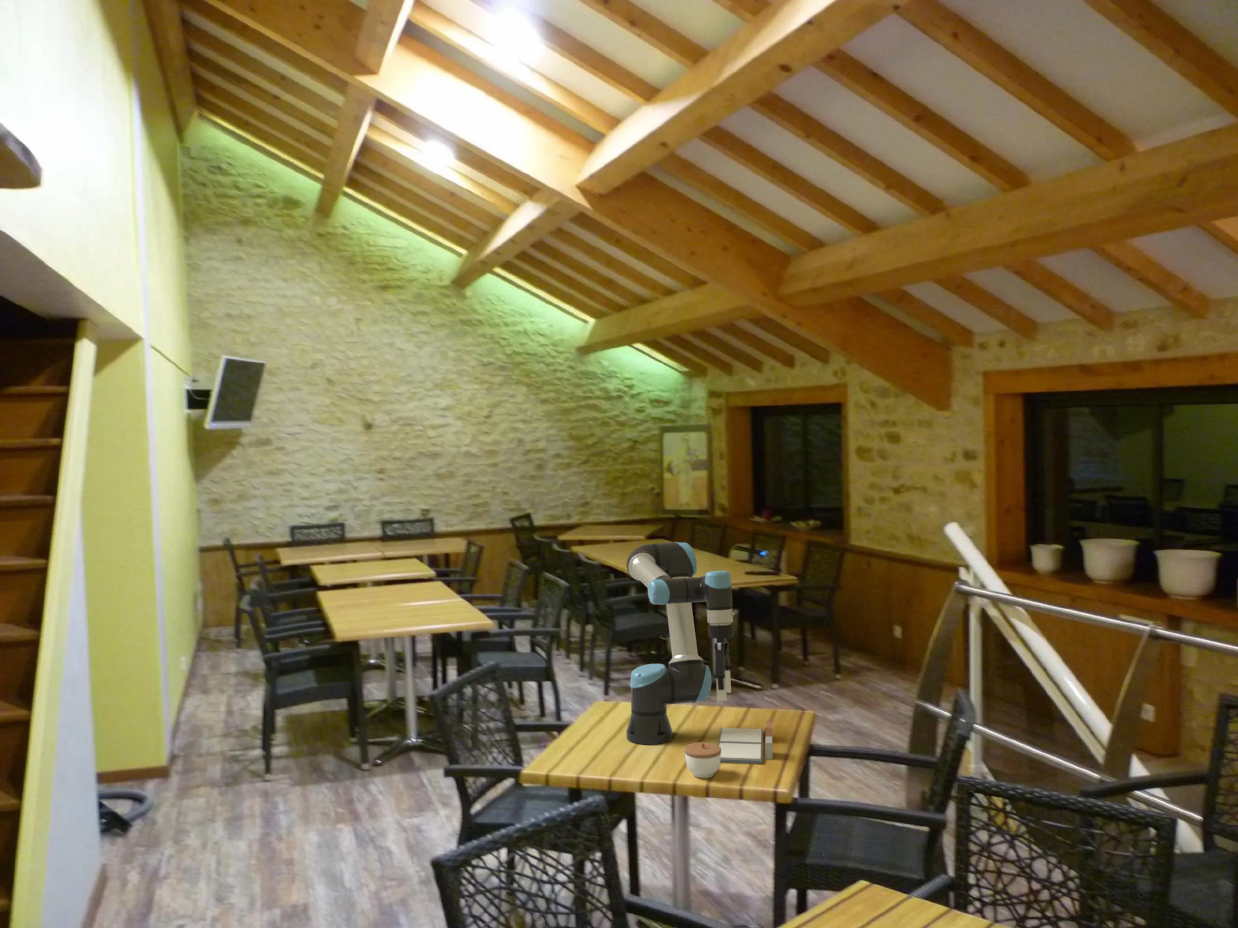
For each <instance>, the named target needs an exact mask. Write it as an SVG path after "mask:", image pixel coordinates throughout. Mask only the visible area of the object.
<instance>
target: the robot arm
mask: <svg viewBox="0 0 1238 928" xmlns="http://www.w3.org/2000/svg"><path fill="white" fill-rule="evenodd" d="M697 563H698V562H697V558H696V554H695V551H694V549H693V547H692V545H690V544H689V543H687V542H678V541H674V542H660V543H646V544H642V545H639V546H637V547H636V548H635V549H633V550H632V551H631V552H630V553H629V555H628V557H627V559H626V571H627V573H628V574H629V575H630V577H631V578H633V579H634V580H636V581H639V582H641V583H642V584H643V585H644V586H645V587H646V588H647V594H648V595H647V597H648V599H649V602H650V604H652V605H661V606H664V605H666V612H667V621H668V622H667V623H668V631H669V639H670V640H669V641H670V647H671V648H670V649H671V655H672V657H671V658H670V661H669V662H668V668H667V667H666V666H665V664H662V663H648V664H644V665H640V666H638V667H636V668H635V669H633V670H632V672H631V674H630V684H629V686H630V708H631V709H630V711H631V714H630V717H629V721H628V724H627V728H626V739H627V740H628V741H629V742H631V743H634V744H638V743H639V744H638V745H659V744H658V743H660V744H664V743H667V742H670V741H671V740H672V739H673V729H672V726H671V722H670V719H669V717H668V714H667V706H668V705H679V704H688V703H692V704H694V703H699V702H705V701H706V700H707V699H708V698H709V696H710V694H711V689H712V672H711V669H710V667H709V665H707V664H704V659H703V658H702V657H701V656H699V654H698V653H699V652H698V646H697V637H696V631H695V623H694V615H693V606H692V603H704V602H705V603H706V616H707V617H706V619H707V623H708V625H707V633H708V637H709V639H716V642H715V643H714V645H713V646H714V658H715V659H714V661H715V663H714V664H715V667H714V668H715V669H714V674H713V679H715V684H716V686H715V687H716V701H717V702H727V701H728V697H727V693H729V694H730V693H732V684H731V682H732V681H731V670H733V666H732V665H731V659H730V643H729V638H731V639H732V638H733V637H734V636H735V631H734V629H735V628H734V624H733V622H734V616H735V614H736V613H735V611H733V593H732V592H733V591H732V589H733V588H732V585H733V582H732V579H731V578H732V577H731V573H730V572H729V571H727V570H713V571H711V570H710V571H707V572H706V573H705V575H701V576H696V577H695V575H696V574H697V571H698V567H697V566H698V564H697ZM670 739H671V740H670ZM663 742H664V743H663Z"/></svg>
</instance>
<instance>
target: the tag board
mask: <svg viewBox="0 0 1238 928" xmlns="http://www.w3.org/2000/svg"><path fill="white" fill-rule="evenodd" d="M719 731H720V732H719V738H718V743H717V745H718V746H720V748H721V761H720V764H721V763H722V764H745V765H747V764H748V765H749V764H750V765H763V756H764V755H763V750H764V747H763V746H764V745H765V760H773V721H765V744H764V729H763V728H746V727H745V728H741V727H740V728H738V727H737V728H736V727H720V730H719Z"/></svg>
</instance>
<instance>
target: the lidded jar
mask: <svg viewBox="0 0 1238 928" xmlns="http://www.w3.org/2000/svg"><path fill="white" fill-rule="evenodd" d="M684 759H685V764H686V767H687V769H688V770H689V772H690V773H691V774H692V775H693V777H696V778H700V779H708V778H712V777H713V776H714V775H715V773H717V771H718V770H719V768H720V765H721V763H720V761H721V748H720V746H718V744H716V743H712V742H705V741H704V742H694V743H693V742H692V743H689V744H687V745H686V746H685V747H684Z"/></svg>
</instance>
